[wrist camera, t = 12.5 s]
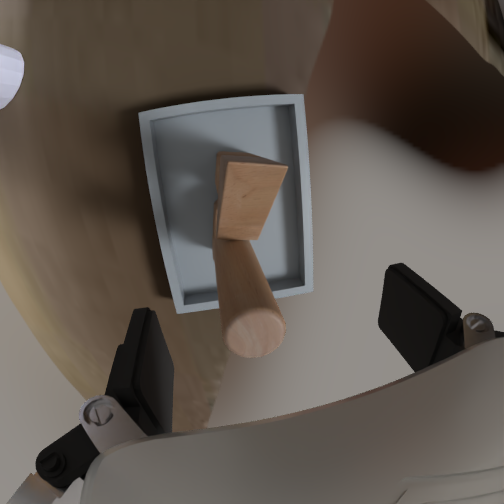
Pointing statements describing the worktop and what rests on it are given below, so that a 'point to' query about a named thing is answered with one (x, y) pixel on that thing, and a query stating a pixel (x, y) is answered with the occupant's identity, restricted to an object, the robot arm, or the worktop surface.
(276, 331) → the wooden mallet
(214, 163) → the tray
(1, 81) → the soap bottle
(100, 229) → the worktop surface
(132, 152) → the worktop surface
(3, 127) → the worktop surface
